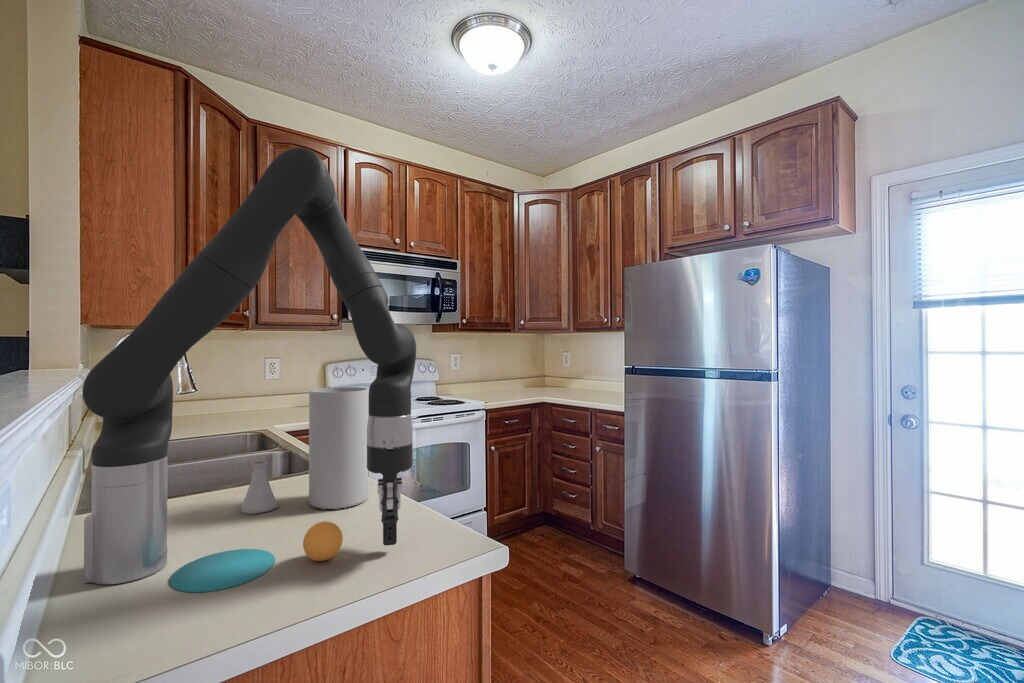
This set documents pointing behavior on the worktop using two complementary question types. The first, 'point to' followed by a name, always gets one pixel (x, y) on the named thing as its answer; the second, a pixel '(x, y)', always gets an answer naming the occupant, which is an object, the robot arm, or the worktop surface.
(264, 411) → the worktop surface
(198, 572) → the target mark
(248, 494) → the flask
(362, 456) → the cylinder vase
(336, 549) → the ball
